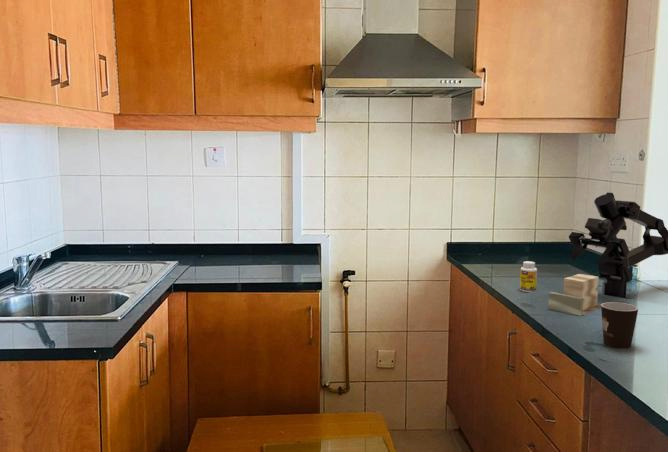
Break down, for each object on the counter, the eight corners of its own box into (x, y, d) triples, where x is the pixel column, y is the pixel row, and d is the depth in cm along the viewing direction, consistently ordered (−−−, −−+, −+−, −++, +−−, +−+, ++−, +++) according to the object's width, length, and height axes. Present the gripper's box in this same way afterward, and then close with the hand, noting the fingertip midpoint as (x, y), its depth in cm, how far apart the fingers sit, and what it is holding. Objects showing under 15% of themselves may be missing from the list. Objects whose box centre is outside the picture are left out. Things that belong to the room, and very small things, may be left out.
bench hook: (574, 304, 195) (575, 284, 194) (605, 310, 188) (606, 289, 187) (548, 313, 184) (548, 292, 183) (579, 320, 177) (581, 298, 176)
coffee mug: (637, 351, 150) (639, 312, 149) (599, 347, 154) (601, 309, 152) (633, 338, 161) (635, 301, 160) (597, 334, 164) (600, 298, 163)
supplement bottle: (518, 291, 212) (519, 262, 211) (521, 288, 217) (522, 260, 216) (534, 293, 209) (535, 264, 208) (537, 290, 214) (539, 261, 213)
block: (578, 301, 193) (579, 273, 191) (597, 305, 188) (598, 276, 187) (562, 307, 186) (564, 278, 185) (581, 311, 182) (583, 281, 180)
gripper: (575, 207, 202) (550, 239, 197) (629, 213, 186) (603, 247, 181) (586, 232, 207) (562, 263, 201) (639, 239, 191) (614, 273, 186)
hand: (584, 261), depth 192 cm, fingers open, 9 cm apart
